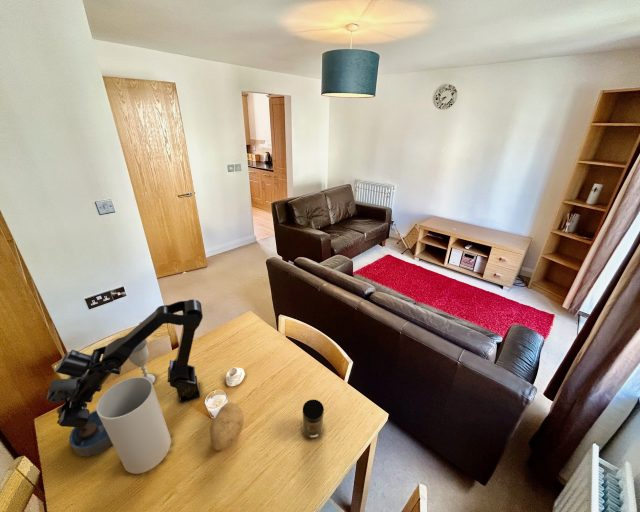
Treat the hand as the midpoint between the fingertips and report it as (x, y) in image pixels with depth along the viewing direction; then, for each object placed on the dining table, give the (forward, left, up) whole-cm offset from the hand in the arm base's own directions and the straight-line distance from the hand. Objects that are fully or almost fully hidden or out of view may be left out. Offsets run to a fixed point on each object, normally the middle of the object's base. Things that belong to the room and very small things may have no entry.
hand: (59, 420), depth 82 cm
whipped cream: (-51, -3, -9) cm, 52 cm away
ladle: (-4, +1, -7) cm, 9 cm away
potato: (-46, +18, -9) cm, 50 cm away
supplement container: (-72, +27, -9) cm, 77 cm away
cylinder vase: (-23, +14, -9) cm, 28 cm away
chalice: (-20, -15, -9) cm, 26 cm away
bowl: (-9, +2, -9) cm, 12 cm away
